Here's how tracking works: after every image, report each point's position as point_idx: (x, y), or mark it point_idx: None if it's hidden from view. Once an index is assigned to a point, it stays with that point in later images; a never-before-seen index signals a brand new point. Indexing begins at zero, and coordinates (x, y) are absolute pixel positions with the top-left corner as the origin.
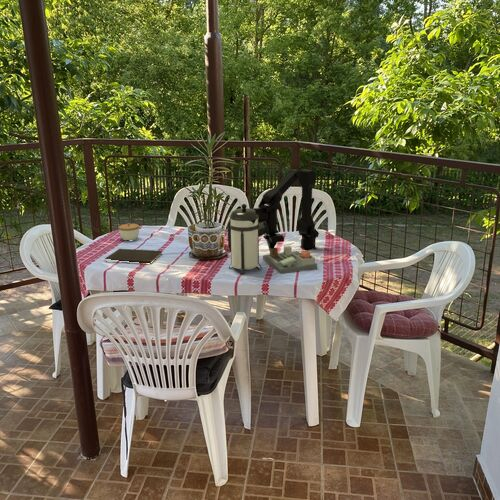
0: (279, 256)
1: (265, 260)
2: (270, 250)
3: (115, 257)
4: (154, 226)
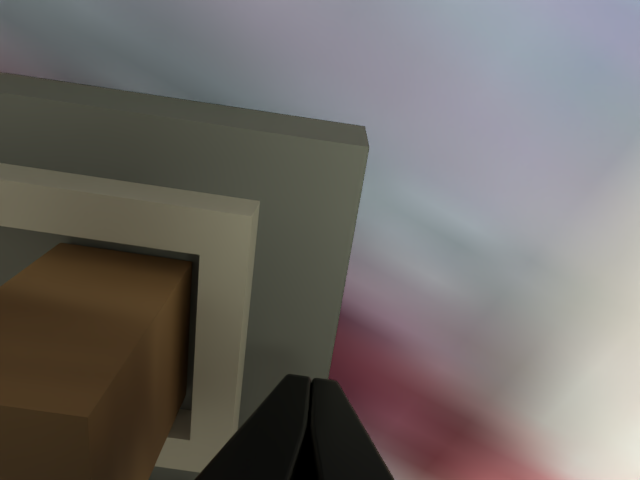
0: None
1: (191, 104)
2: (69, 357)
3: None
4: None
